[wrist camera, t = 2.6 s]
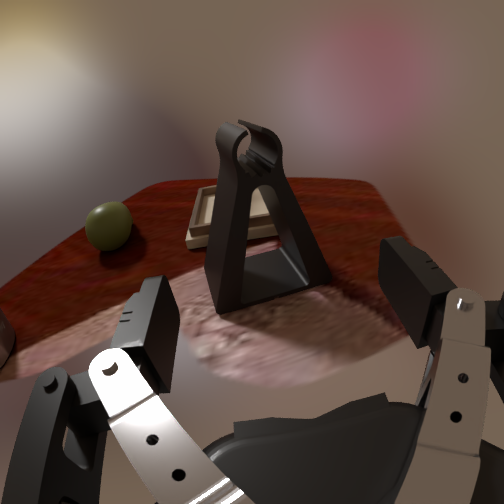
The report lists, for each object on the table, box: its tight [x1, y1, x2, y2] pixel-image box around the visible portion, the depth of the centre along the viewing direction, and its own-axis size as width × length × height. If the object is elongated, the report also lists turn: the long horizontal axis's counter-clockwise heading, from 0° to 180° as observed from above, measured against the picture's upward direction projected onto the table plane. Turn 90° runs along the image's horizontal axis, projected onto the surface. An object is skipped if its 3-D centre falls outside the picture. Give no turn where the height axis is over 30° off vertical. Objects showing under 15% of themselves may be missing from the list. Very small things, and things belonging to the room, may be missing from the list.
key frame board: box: [186, 185, 278, 249], centre depth 36 cm, size 10×13×2 cm
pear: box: [85, 202, 133, 251], centre depth 35 cm, size 6×5×10 cm
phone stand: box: [204, 120, 332, 314], centre depth 22 cm, size 9×6×12 cm, turn 105°
